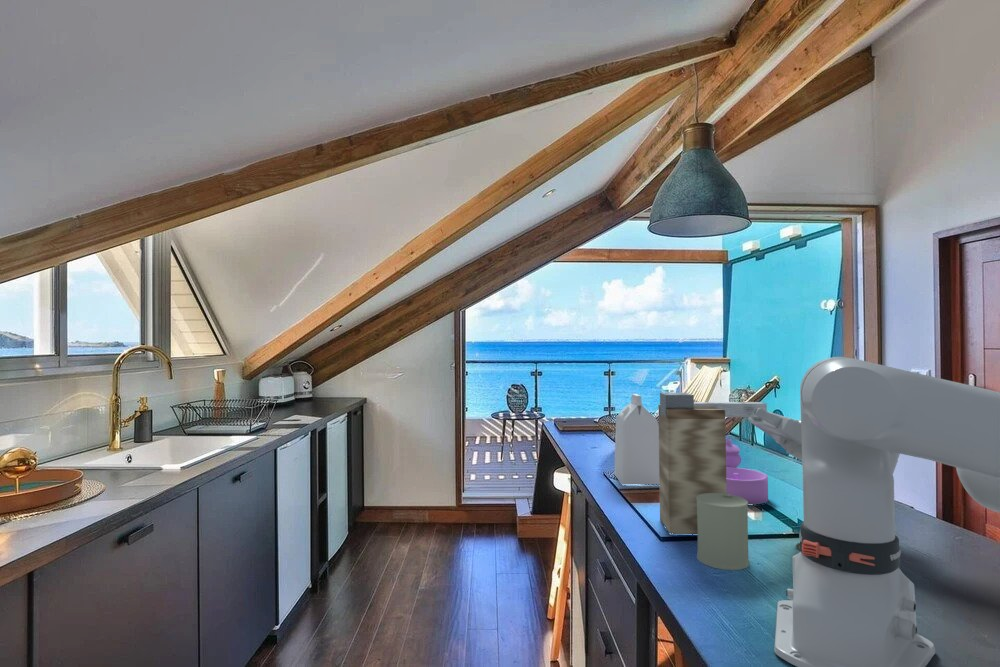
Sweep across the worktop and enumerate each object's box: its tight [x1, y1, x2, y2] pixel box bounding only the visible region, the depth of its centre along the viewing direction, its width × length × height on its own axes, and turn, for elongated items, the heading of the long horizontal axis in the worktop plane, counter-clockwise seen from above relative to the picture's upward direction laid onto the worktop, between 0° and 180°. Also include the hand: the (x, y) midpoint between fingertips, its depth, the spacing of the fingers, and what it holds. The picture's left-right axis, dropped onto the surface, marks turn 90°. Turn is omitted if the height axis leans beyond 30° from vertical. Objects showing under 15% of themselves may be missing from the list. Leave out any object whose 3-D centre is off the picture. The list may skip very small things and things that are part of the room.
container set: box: [726, 438, 769, 504], centre depth 148 cm, size 25×15×13 cm, turn 165°
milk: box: [613, 393, 660, 484], centre depth 161 cm, size 12×12×26 cm
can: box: [696, 493, 751, 571], centre depth 101 cm, size 9×9×12 cm
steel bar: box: [659, 392, 768, 418], centre depth 119 cm, size 22×6×5 cm, turn 85°
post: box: [658, 404, 727, 535], centre depth 119 cm, size 12×10×27 cm
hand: (747, 408), depth 118 cm, fingers open, 8 cm apart
